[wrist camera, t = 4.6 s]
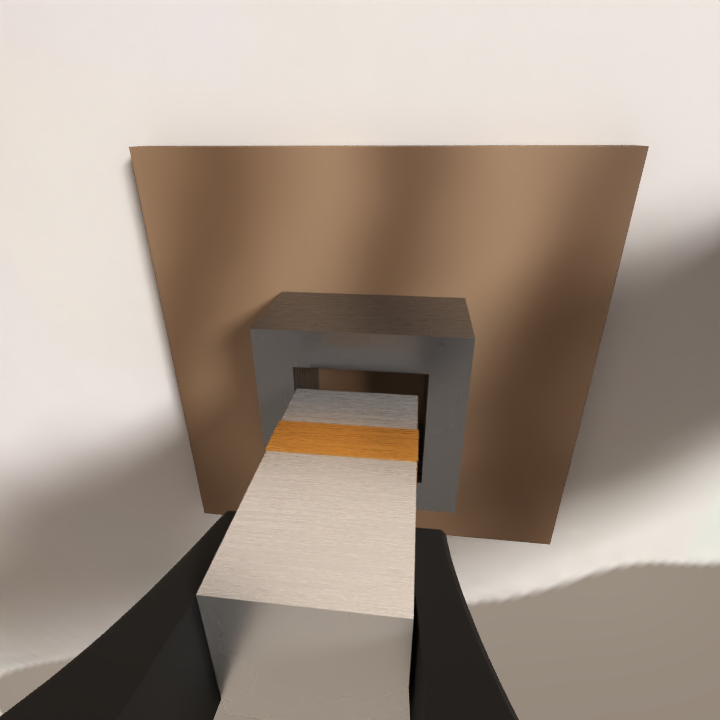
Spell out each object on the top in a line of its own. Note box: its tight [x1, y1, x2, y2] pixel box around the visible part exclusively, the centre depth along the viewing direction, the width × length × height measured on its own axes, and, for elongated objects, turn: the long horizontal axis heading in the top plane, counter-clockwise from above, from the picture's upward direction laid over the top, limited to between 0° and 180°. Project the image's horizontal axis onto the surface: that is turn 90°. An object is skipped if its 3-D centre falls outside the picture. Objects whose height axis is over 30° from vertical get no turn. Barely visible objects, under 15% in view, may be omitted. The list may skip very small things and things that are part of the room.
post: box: [196, 389, 419, 720], centre depth 11 cm, size 4×4×7 cm
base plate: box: [129, 145, 649, 544], centre depth 18 cm, size 16×16×1 cm
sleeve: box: [250, 292, 475, 513], centre depth 16 cm, size 6×6×4 cm
